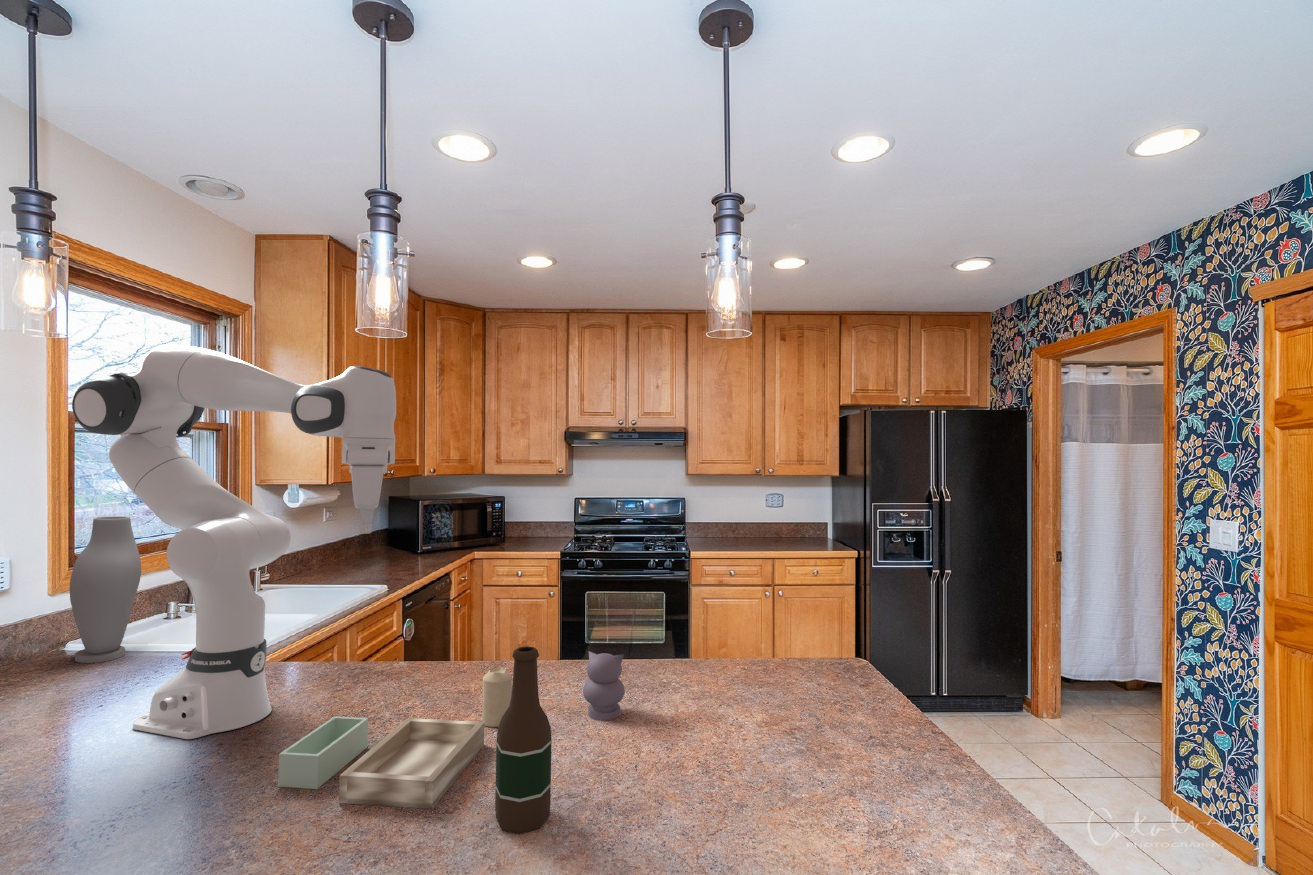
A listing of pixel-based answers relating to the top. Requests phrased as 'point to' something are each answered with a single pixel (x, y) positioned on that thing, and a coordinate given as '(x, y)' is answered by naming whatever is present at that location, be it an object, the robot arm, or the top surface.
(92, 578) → the vase
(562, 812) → the top surface
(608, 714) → the cat figurine
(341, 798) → the box
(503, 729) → the beer bottle
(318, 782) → the green crate
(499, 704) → the candle
